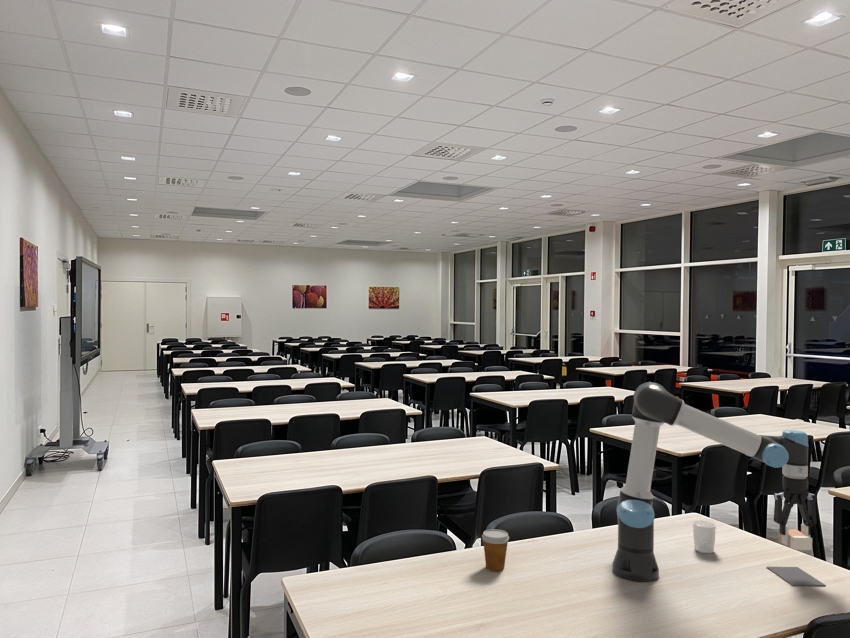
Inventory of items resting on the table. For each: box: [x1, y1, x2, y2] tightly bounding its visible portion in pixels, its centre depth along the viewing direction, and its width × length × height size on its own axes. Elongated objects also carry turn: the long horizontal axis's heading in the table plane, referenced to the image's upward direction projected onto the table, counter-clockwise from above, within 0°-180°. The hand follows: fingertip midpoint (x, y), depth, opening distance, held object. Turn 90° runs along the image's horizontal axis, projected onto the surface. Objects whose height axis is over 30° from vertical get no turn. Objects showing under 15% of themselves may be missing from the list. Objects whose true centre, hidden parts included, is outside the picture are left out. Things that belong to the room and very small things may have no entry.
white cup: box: [692, 520, 717, 554], centre depth 232 cm, size 8×8×10 cm
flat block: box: [777, 528, 813, 551], centre depth 208 cm, size 9×6×4 cm, turn 1°
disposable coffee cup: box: [481, 529, 510, 572], centre depth 213 cm, size 10×10×12 cm
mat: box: [766, 566, 827, 587], centre depth 208 cm, size 11×15×1 cm
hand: (794, 544), depth 208 cm, fingers closed on flat block, 6 cm apart
